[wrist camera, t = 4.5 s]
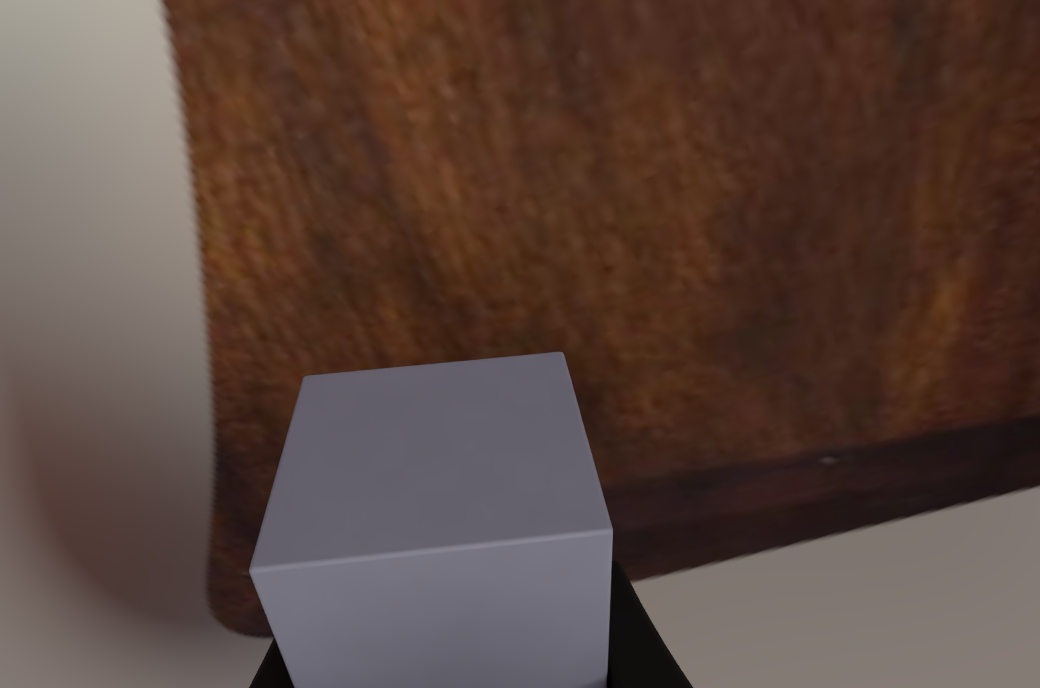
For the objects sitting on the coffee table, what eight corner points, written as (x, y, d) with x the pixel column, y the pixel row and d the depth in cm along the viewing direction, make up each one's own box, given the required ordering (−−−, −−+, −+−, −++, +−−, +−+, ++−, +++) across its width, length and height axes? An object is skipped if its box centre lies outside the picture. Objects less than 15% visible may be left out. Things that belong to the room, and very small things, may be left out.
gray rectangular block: (568, 667, 15) (601, 861, 12) (386, 689, 14) (372, 892, 11) (563, 350, 10) (614, 531, 7) (302, 374, 10) (246, 570, 7)
